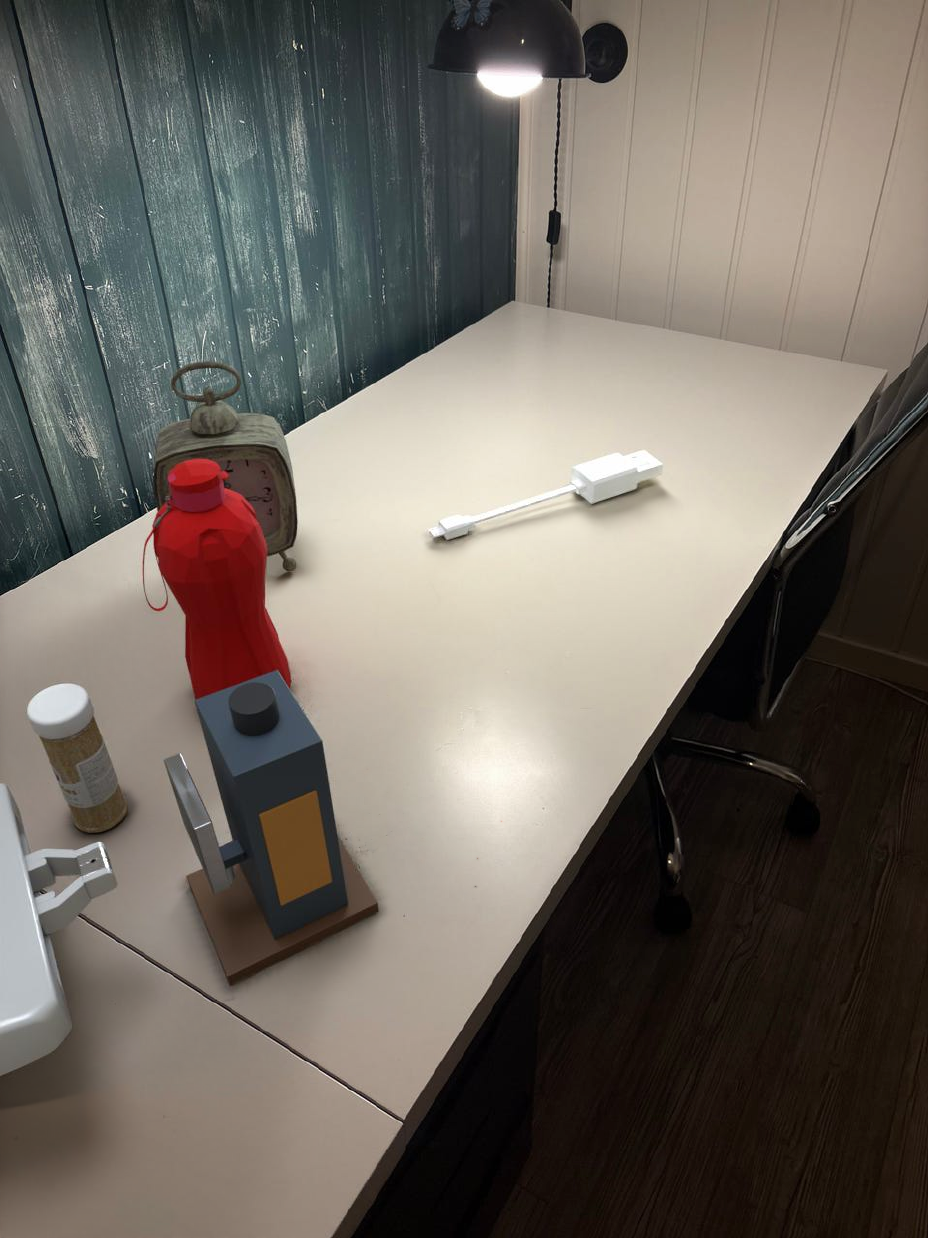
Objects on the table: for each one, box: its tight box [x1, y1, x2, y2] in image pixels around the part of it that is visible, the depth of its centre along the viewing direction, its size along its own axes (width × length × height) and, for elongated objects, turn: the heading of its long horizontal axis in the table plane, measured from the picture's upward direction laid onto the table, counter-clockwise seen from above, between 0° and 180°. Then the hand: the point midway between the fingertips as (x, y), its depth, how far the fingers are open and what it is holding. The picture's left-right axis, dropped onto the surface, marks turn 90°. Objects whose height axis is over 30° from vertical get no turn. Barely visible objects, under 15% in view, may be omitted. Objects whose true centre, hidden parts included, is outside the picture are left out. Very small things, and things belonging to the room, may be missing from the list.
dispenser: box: [185, 670, 380, 986], centre depth 65 cm, size 12×10×21 cm
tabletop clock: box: [152, 360, 299, 573], centre depth 100 cm, size 14×9×25 cm, turn 102°
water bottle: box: [142, 459, 293, 701], centre depth 83 cm, size 9×11×25 cm
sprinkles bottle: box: [26, 683, 128, 834], centre depth 75 cm, size 5×5×13 cm
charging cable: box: [427, 449, 664, 541], centre depth 116 cm, size 5×32×3 cm, turn 117°
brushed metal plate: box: [163, 753, 231, 894], centre depth 63 cm, size 1×7×7 cm, turn 30°
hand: (110, 863), depth 60 cm, fingers closed
